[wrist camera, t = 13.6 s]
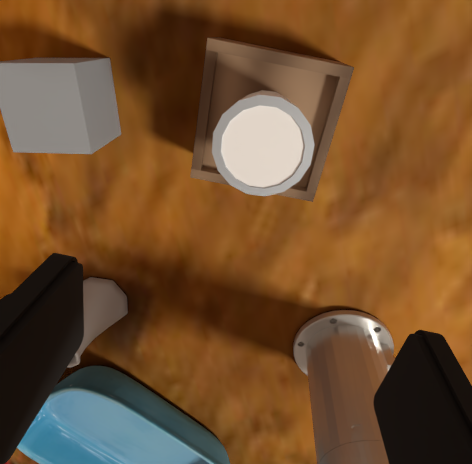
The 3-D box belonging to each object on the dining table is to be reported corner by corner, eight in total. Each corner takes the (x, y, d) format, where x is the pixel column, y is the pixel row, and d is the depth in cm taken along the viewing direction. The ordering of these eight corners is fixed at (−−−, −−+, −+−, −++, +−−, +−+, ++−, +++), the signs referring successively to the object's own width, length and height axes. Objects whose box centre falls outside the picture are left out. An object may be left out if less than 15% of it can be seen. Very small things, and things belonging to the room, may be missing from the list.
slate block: (110, 57, 34) (73, 63, 28) (121, 134, 37) (91, 154, 31) (37, 57, 34) (-14, 62, 28) (55, 132, 38) (13, 151, 31)
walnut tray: (340, 61, 32) (354, 67, 27) (307, 178, 37) (312, 201, 32) (218, 37, 32) (207, 37, 27) (202, 157, 37) (190, 177, 32)
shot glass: (318, 144, 31) (330, 171, 25) (246, 178, 33) (240, 211, 27) (285, 65, 28) (288, 73, 22) (208, 107, 30) (192, 126, 24)
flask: (66, 279, 47) (18, 335, 38) (117, 272, 45) (80, 328, 37) (88, 322, 50) (49, 383, 41) (137, 316, 49) (107, 378, 40)
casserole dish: (263, 453, 61) (262, 501, 55) (176, 493, 70) (167, 538, 64) (86, 325, 51) (60, 366, 44) (10, 391, 59) (-21, 433, 53)
